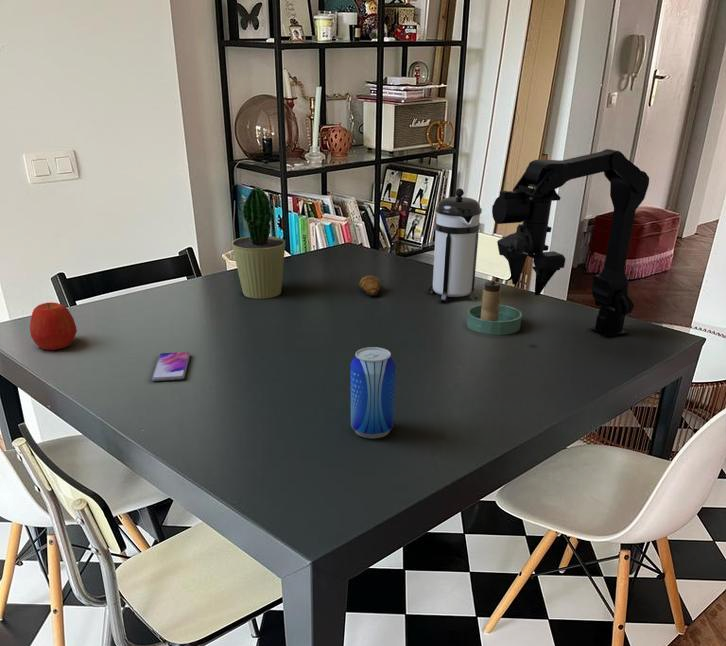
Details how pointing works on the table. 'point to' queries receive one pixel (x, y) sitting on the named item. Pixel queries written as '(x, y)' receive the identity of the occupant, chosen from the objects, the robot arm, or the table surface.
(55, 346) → the apple
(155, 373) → the smartphone
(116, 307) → the table surface
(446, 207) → the coffee press
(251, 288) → the potted cactus
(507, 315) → the bowl
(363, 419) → the beer can
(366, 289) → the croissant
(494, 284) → the pepper mill
